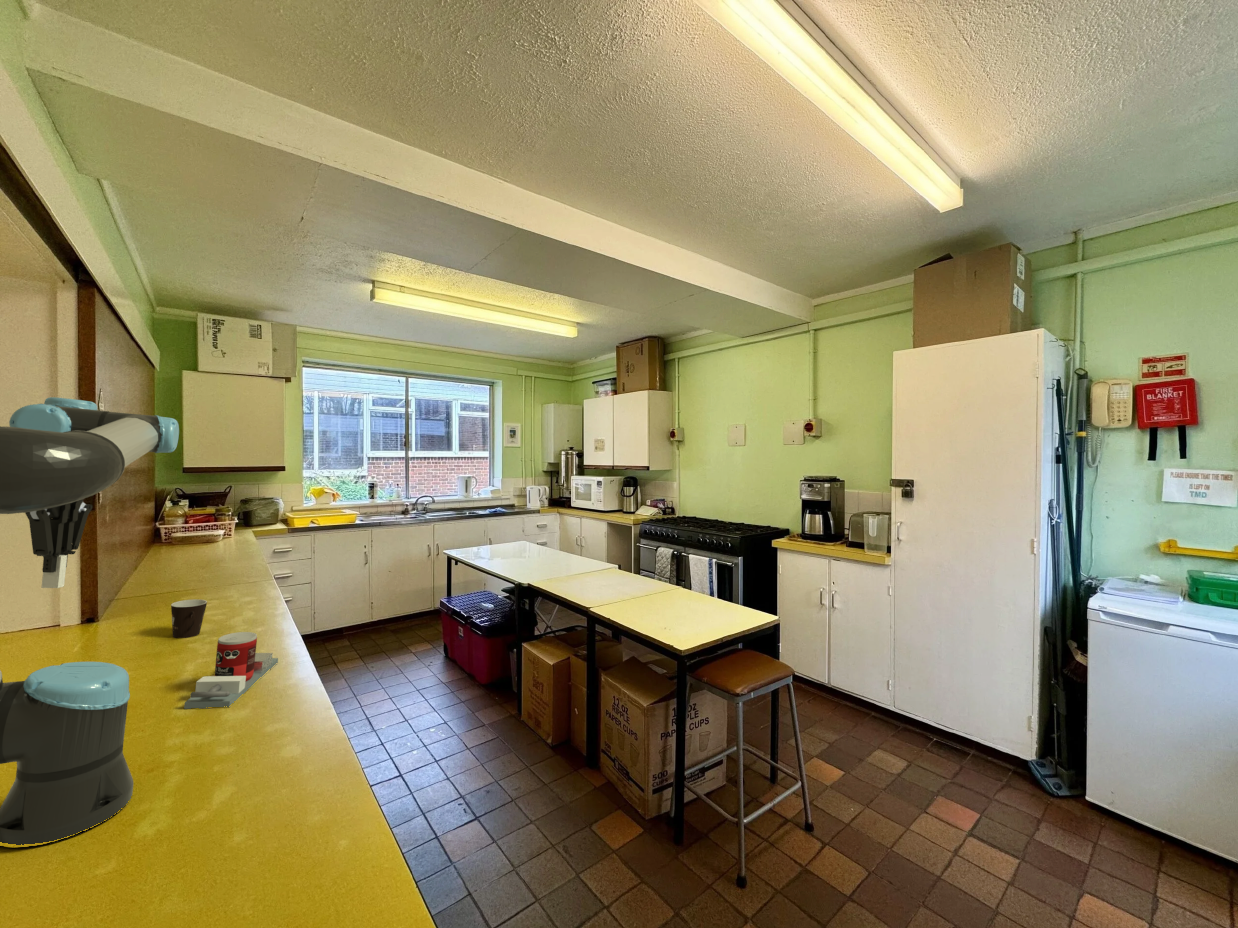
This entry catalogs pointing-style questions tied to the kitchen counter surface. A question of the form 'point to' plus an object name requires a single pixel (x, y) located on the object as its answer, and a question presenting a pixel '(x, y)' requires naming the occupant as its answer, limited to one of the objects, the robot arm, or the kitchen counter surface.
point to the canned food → (236, 655)
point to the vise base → (225, 699)
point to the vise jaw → (262, 661)
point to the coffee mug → (187, 617)
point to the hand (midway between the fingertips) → (52, 586)
